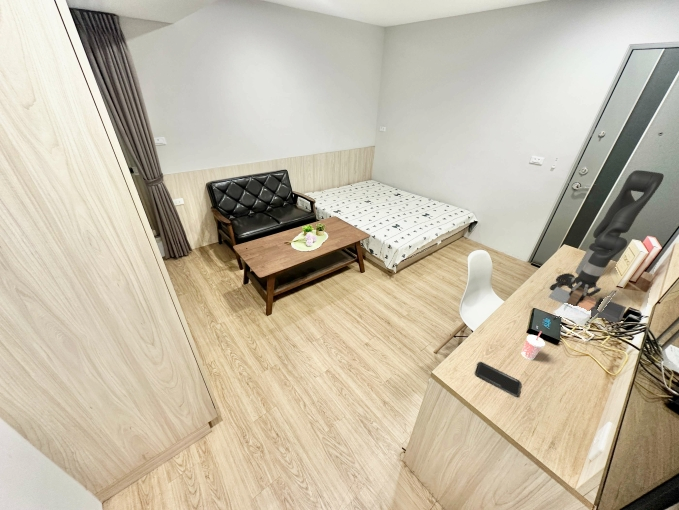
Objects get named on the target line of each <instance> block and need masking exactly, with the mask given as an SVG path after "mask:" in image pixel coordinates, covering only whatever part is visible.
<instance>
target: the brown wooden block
mask: <svg viewBox="0 0 679 510" xmlns="http://www.w3.org/2000/svg"><path fill="white" fill-rule="evenodd" d="M583 293H584V289H583V288H580V287H578V288H577V289H575V291H574V292H573V293H572V294H571V296H570V298H569V299H568V301H567V302H566V303H568V304H571V305H573V306H575V305H576V303H577V302H578V301H579V299H580V298H581V296H582V295H583Z"/></svg>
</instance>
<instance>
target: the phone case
mask: <svg viewBox="0 0 679 510" xmlns="http://www.w3.org/2000/svg"><path fill="white" fill-rule="evenodd" d="M557 316H560V317H562V318H563V319H562V318H561V319H562V320H564V321H565V320H566V321H565V322H567V323H568V324H570V325H572V324H574V325H577V326H579V325H578V324H576V323H574V322H572V321H571V320H569V319H567V318H565V317H564V316H561V315H557ZM560 317H559V318H560ZM574 325H573V326H574ZM562 327H563V328H562ZM562 327H561V328H562V329H564V330H565V331H568V332H569V331H570V332H572V333H573V334H574V335H576V336H577V337H579V338H580V339H581V340H582V341H584V342H586V343H587V342H589V341H590V340H591V339H593V338H594V337H595V336H596V335H595V334H594V333H592V332H591V331H589V330H587V329H585V328H583V327H581V326H579V328H578V329H579V330H581V329H583V330H586V332H585V333H586V334H589V335H590V336H591V337H589V338H588V339H586V338H585V337H583V336H581V335H579V334H578V333H576V332H574V331H572V330H571V329H569V328H567V327H566V326H564V325H562ZM583 330H582V331H583ZM570 332H569V333H570ZM572 333H571V334H572Z"/></svg>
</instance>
